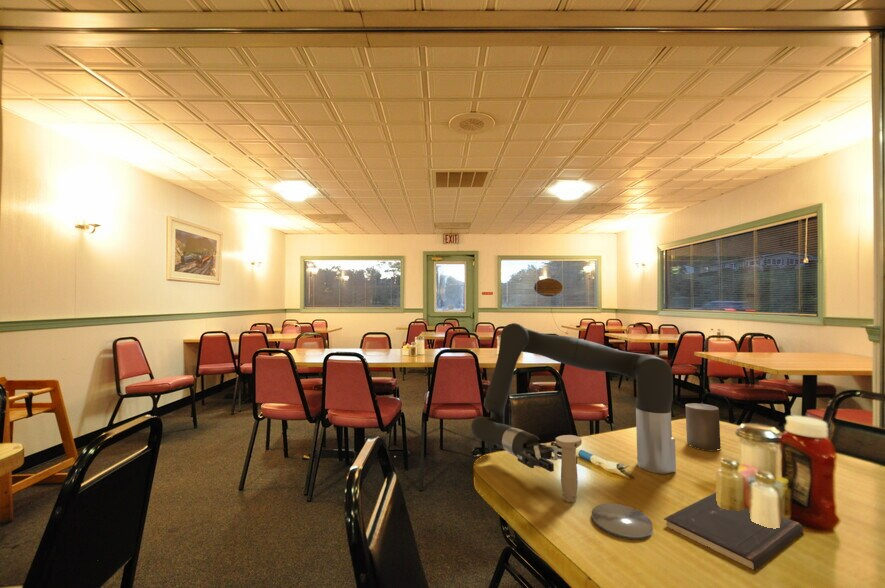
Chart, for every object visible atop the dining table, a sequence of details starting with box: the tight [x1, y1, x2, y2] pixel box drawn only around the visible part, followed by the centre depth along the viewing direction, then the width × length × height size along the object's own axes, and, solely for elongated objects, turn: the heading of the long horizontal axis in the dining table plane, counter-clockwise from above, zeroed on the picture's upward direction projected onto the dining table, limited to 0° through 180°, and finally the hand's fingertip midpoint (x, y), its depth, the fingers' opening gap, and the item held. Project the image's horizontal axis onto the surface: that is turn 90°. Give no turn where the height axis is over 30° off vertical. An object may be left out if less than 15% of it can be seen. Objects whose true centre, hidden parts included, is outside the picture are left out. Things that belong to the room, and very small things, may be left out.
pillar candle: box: [684, 402, 722, 451], centre depth 127 cm, size 10×10×15 cm
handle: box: [555, 434, 582, 503], centre depth 91 cm, size 5×6×15 cm
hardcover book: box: [663, 492, 804, 572], centre depth 78 cm, size 16×23×2 cm
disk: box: [591, 502, 654, 541], centre depth 81 cm, size 12×12×1 cm
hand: (564, 464), depth 92 cm, fingers open, 8 cm apart
